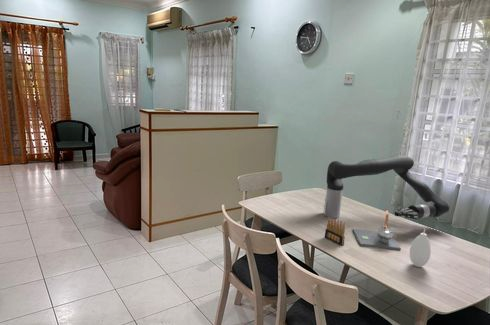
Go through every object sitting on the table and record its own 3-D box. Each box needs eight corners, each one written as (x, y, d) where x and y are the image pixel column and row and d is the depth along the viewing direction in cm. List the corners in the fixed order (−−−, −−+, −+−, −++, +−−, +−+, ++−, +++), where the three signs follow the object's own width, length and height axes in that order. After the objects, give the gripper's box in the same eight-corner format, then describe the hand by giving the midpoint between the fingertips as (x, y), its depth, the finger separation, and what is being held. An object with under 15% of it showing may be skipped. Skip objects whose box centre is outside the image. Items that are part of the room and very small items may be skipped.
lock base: (360, 245, 160) (361, 238, 160) (352, 230, 178) (353, 223, 177) (400, 250, 159) (401, 242, 158) (388, 234, 176) (389, 227, 175)
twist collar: (392, 240, 159) (396, 221, 157) (377, 237, 161) (380, 219, 159) (391, 228, 173) (394, 211, 171) (377, 226, 175) (380, 209, 173)
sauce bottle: (404, 260, 149) (411, 223, 145) (421, 261, 149) (429, 225, 145) (412, 269, 141) (420, 231, 137) (430, 271, 141) (438, 232, 137)
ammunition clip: (343, 245, 160) (347, 222, 157) (341, 246, 159) (344, 223, 156) (326, 237, 168) (329, 215, 166) (324, 237, 167) (326, 215, 164)
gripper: (409, 200, 185) (387, 203, 178) (430, 209, 174) (407, 211, 167) (407, 213, 187) (384, 216, 180) (428, 222, 175) (404, 225, 168)
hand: (395, 214), depth 173 cm, fingers closed
